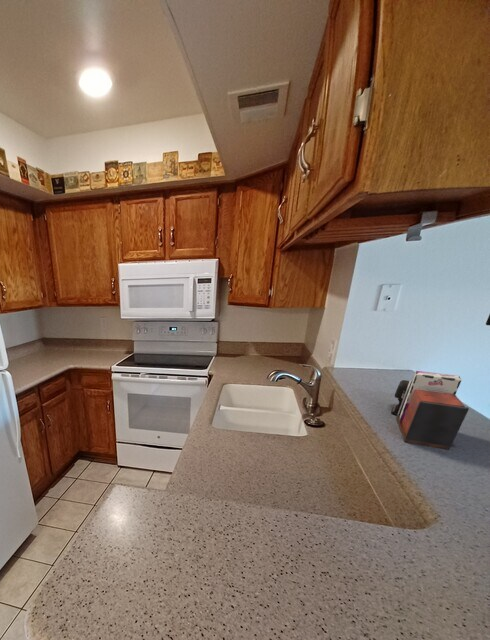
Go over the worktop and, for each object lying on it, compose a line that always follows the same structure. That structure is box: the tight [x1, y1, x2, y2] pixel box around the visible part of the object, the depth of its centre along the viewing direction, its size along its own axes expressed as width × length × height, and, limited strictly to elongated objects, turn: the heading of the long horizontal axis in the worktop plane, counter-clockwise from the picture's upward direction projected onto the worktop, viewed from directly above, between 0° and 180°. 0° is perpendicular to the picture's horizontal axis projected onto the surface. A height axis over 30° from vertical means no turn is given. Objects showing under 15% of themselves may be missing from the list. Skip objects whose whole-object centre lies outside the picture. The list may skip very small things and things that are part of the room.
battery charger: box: [390, 379, 413, 416], centre depth 114 cm, size 7×4×11 cm, turn 142°
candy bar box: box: [400, 370, 462, 422], centre depth 103 cm, size 11×5×16 cm, turn 58°
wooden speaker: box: [395, 389, 470, 451], centre depth 100 cm, size 11×18×13 cm, turn 155°
